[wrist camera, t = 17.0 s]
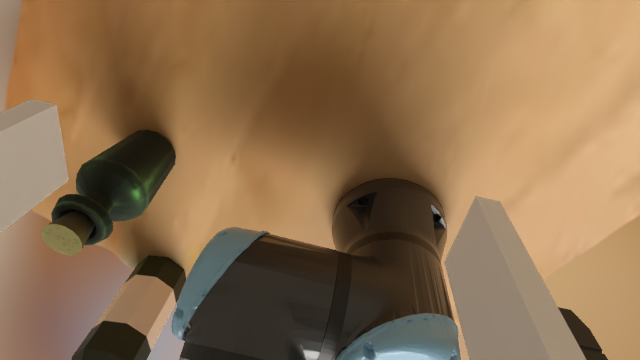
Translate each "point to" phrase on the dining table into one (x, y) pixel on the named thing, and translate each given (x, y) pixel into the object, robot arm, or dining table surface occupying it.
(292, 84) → the dining table surface
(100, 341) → the wine bottle
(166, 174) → the potion bottle
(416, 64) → the dining table surface
